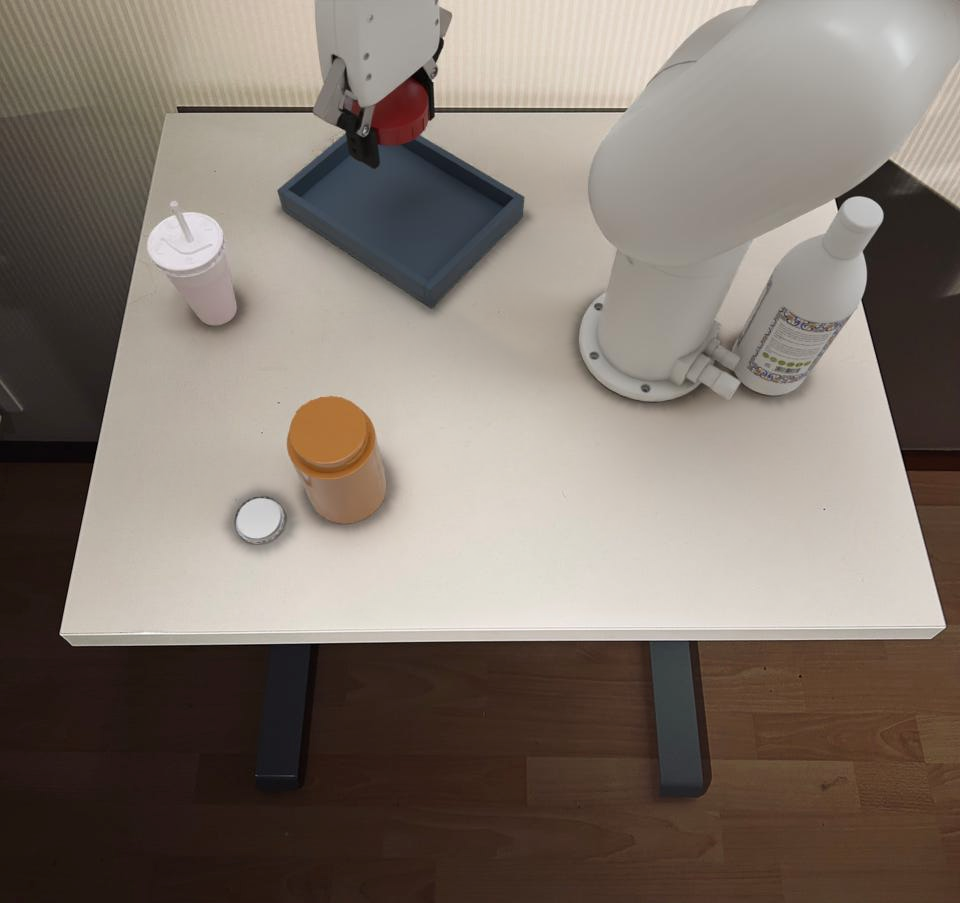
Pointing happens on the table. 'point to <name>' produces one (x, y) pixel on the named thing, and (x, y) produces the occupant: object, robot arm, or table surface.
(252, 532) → the white grey disc
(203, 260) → the smoothie
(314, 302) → the table surface
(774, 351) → the bath foam
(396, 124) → the lid
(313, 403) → the jar
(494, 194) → the tray
